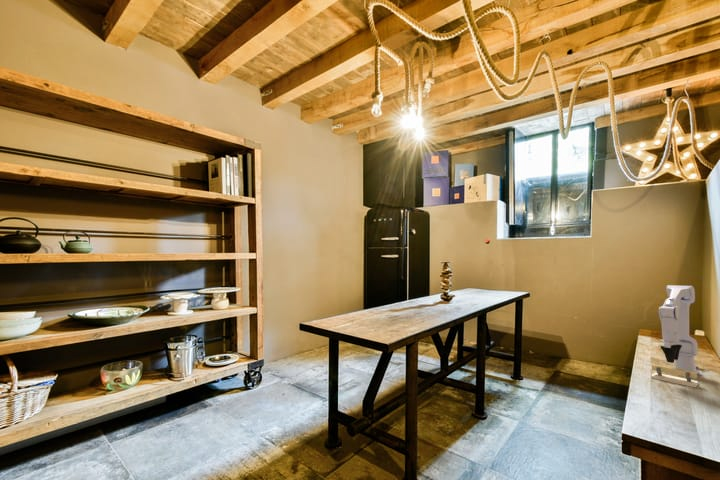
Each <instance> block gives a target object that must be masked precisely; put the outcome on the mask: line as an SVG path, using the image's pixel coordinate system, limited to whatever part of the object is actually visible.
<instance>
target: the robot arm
mask: <svg viewBox="0 0 720 480" xmlns="http://www.w3.org/2000/svg"><path fill="white" fill-rule="evenodd" d="M665 290H666V295H667V297H668V298H665V300H664V302H663V304H662V306H659V307H658V311H657V313H658V316H659V322H660V323H661V324H660V325H661V335H662V339H659V342H662V343H663V345H660V349H661V350H662V352H663V354H664V356H665V360H666V362H667V363H672V364H674V368H676V369H682V370H687V371H692V372H697V375H698V374H699V373H700V371H698V370H696V369H697V368H696V359H695V357H696V356H698V354H699V345H698V342H697V340H696V339H695V338H694V337H692V336H690V306H691V304H694V303H695V301H696V292H695V288H694V286H693V285H676V284H675V285H673V284H672V285H671V284H668V285H667V286H666V289H665ZM683 341H686V342H683Z"/></svg>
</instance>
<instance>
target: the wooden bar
mask: <svg viewBox="0 0 720 480" xmlns="http://www.w3.org/2000/svg"><path fill="white" fill-rule="evenodd" d="M656 367H659V368H660V372H662V373H663V374H664V373H666V374H668V375H669V374H671V375H673V376H674V375H675V376H678V377H679V376H680V377H683V378H684V377H685V378H686V374H685V373H689V375H690V378H691V379H693V380H694V379H695V380H696V379H697V378H698V374H697V372H692V371H687V370H682V369H676V368H675V367H670V366H665V365H660V364H653V363H652V364H651V371H655V372H657V369H656Z"/></svg>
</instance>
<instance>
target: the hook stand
mask: <svg viewBox="0 0 720 480" xmlns="http://www.w3.org/2000/svg"><path fill="white" fill-rule="evenodd" d="M656 369H657V371H656V372H654V373H652V374H651V375H650V378H651V379H654V380H659V381H665V382H668V383H673V384H677V385H681V386H687V387H692V388H696V387H698V385H699V380H694V379H692V378H690V375H689V373H685V374H686V377H685V378H684V377H681V376H680V377H679V376H676V375H675V376H674V375H669V374H664V373H663V372H660V368H659V367H656Z"/></svg>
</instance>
